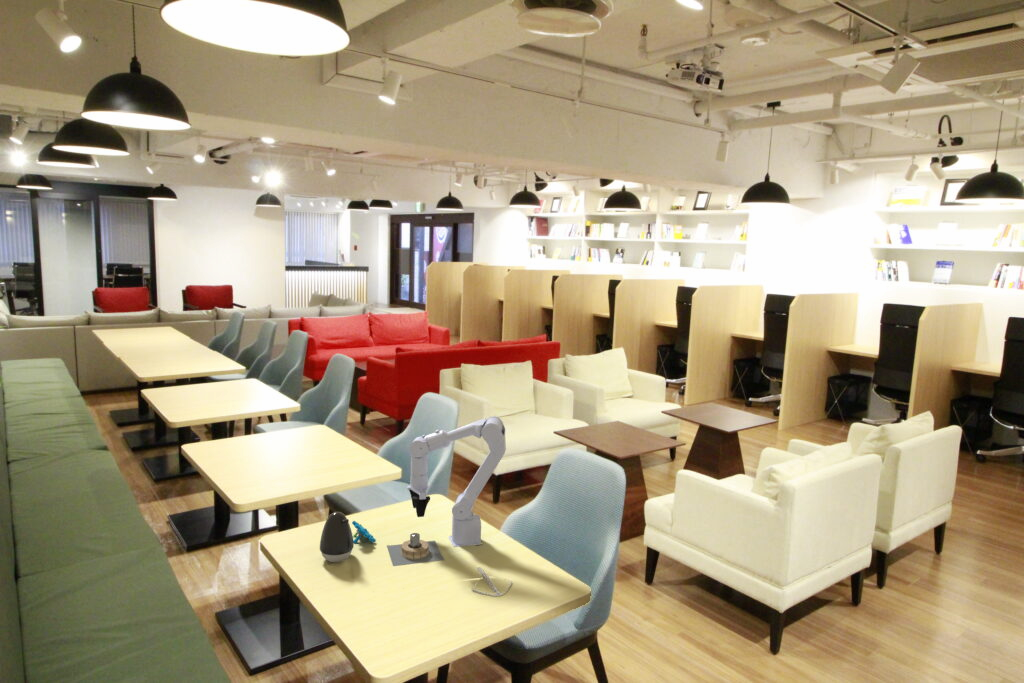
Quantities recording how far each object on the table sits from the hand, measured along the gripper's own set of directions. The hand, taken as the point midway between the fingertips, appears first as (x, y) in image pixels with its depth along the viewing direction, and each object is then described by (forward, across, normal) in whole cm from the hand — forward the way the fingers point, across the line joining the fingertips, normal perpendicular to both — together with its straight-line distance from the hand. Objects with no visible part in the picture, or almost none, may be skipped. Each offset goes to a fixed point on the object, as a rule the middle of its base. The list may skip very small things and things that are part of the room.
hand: (418, 512), depth 218 cm
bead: (+9, +11, -3) cm, 14 cm away
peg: (+9, +11, -3) cm, 14 cm away
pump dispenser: (+10, +8, -27) cm, 30 cm away
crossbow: (+10, +34, +15) cm, 39 cm away
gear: (+10, -2, -18) cm, 20 cm away
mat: (+9, +11, -3) cm, 15 cm away
